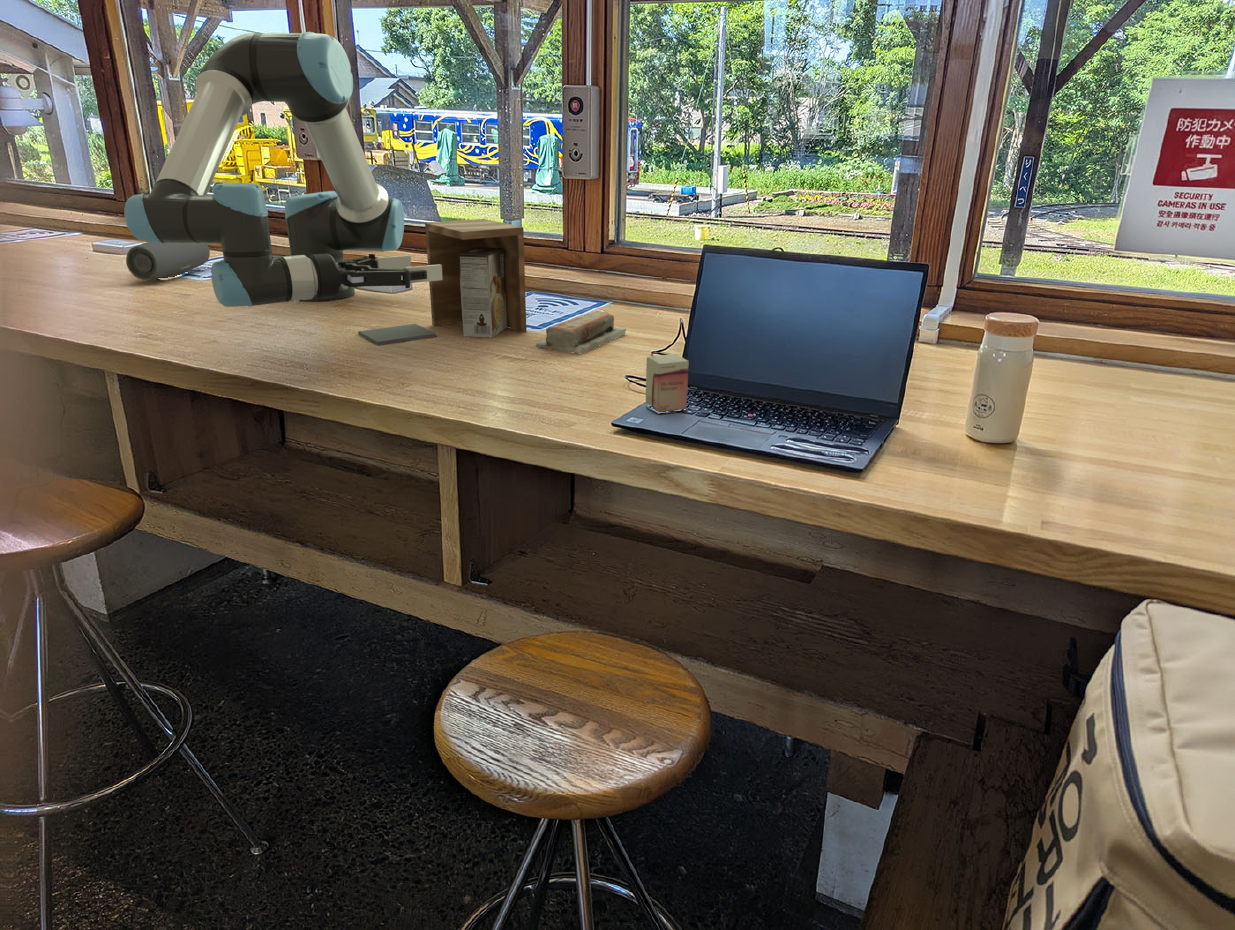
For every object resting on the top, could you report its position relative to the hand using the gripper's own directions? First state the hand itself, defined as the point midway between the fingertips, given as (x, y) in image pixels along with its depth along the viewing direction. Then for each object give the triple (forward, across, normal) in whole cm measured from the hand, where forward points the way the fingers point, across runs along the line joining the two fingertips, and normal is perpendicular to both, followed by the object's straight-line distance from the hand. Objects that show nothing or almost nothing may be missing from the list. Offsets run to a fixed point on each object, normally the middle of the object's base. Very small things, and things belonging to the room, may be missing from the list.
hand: (425, 267), depth 161 cm
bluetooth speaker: (-27, -98, -14) cm, 103 cm away
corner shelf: (+12, -4, -14) cm, 19 cm away
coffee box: (+12, -1, -14) cm, 19 cm away
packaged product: (+24, +16, -15) cm, 33 cm away
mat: (-4, -8, -14) cm, 16 cm away
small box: (+12, +57, -15) cm, 60 cm away
